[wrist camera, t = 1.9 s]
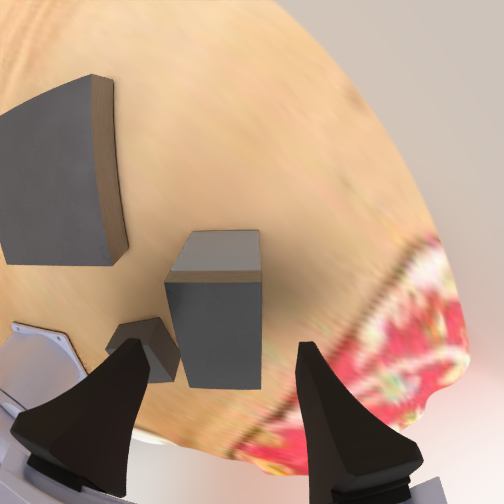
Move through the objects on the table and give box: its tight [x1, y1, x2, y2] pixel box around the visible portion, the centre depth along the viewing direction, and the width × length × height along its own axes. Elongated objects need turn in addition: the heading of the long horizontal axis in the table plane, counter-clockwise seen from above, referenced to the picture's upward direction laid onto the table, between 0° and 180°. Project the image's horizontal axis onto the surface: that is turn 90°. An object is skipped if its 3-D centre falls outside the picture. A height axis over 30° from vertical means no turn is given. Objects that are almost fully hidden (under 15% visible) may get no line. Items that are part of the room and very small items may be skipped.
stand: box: [0, 74, 128, 266], centre depth 13 cm, size 11×11×2 cm
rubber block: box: [105, 318, 181, 383], centre depth 19 cm, size 4×4×3 cm
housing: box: [164, 230, 262, 390], centre depth 15 cm, size 4×7×6 cm, turn 1°
